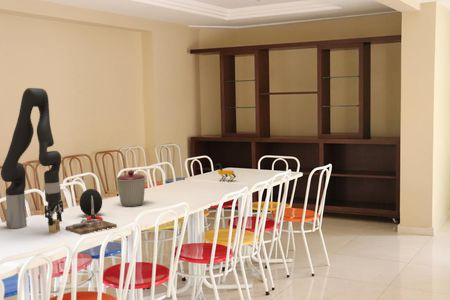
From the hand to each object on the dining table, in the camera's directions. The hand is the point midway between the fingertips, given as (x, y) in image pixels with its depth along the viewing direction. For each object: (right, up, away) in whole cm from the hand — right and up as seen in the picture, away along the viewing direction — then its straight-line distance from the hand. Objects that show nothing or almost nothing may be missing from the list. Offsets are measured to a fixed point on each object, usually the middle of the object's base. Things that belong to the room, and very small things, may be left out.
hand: (55, 223), depth 296 cm
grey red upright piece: (+14, -1, +24) cm, 28 cm away
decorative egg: (+10, 0, +36) cm, 38 cm away
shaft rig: (+17, -3, +5) cm, 18 cm away
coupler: (0, -4, 0) cm, 4 cm away
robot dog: (+84, +13, +143) cm, 167 cm away
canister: (+29, +3, +64) cm, 70 cm away
